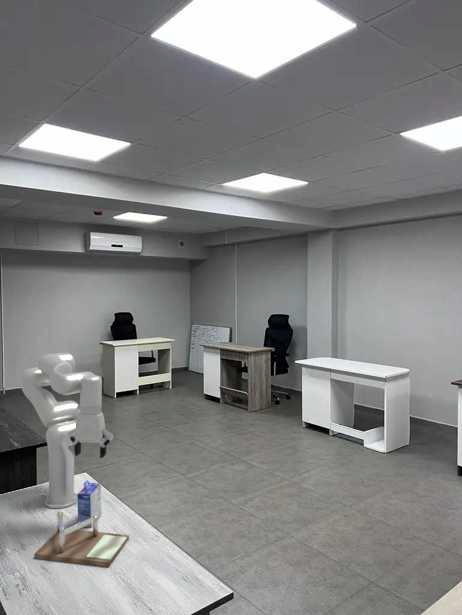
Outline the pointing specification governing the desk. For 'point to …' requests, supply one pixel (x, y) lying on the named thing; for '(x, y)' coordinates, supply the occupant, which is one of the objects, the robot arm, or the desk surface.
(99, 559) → the board
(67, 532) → the bent wire
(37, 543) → the desk surface
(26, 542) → the desk surface
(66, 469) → the robot arm
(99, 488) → the ink cartridge box
